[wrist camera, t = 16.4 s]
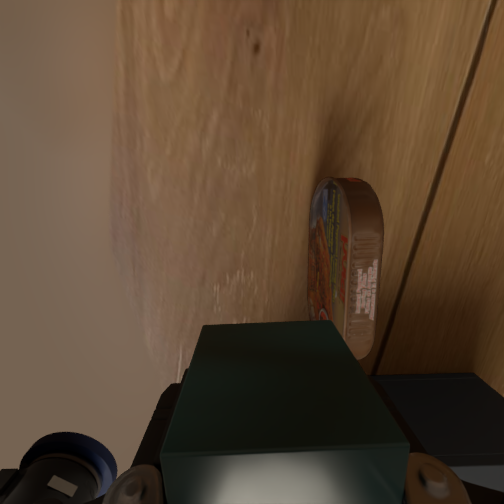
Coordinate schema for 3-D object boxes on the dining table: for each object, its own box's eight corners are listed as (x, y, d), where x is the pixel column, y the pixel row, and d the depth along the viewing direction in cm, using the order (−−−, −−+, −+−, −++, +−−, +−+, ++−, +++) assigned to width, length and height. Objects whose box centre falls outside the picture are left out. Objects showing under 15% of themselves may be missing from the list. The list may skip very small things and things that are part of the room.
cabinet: (336, 462, 31) (373, 578, 22) (342, 376, 28) (388, 468, 19) (454, 459, 31) (540, 573, 22) (473, 372, 28) (583, 463, 19)
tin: (309, 179, 23) (342, 174, 15) (344, 178, 23) (396, 172, 15) (306, 327, 27) (331, 388, 19) (336, 326, 27) (374, 387, 19)
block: (212, 428, 11) (184, 616, 6) (202, 324, 10) (157, 455, 5) (327, 423, 11) (389, 607, 6) (331, 318, 10) (412, 444, 5)
